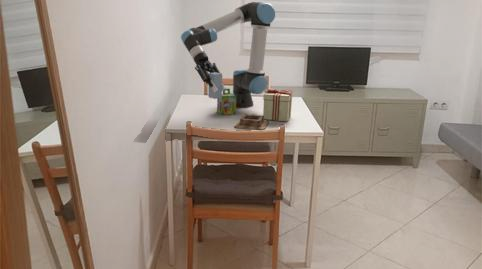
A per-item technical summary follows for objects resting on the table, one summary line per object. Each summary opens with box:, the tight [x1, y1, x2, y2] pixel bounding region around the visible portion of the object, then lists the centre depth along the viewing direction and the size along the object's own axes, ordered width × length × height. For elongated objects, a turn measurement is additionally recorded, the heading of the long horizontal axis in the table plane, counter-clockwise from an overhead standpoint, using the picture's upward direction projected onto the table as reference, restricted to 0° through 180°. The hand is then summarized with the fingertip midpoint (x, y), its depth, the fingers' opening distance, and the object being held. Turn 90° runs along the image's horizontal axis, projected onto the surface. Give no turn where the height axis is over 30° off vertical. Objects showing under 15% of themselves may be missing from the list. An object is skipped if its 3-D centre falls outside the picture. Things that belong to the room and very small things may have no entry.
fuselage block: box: [208, 72, 223, 100], centre depth 235 cm, size 5×5×13 cm
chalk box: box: [216, 88, 237, 116], centre depth 265 cm, size 9×9×15 cm
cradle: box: [234, 113, 270, 131], centre depth 243 cm, size 16×16×4 cm
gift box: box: [262, 87, 294, 122], centre depth 259 cm, size 17×18×17 cm
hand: (220, 90), depth 233 cm, fingers closed on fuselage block, 5 cm apart
